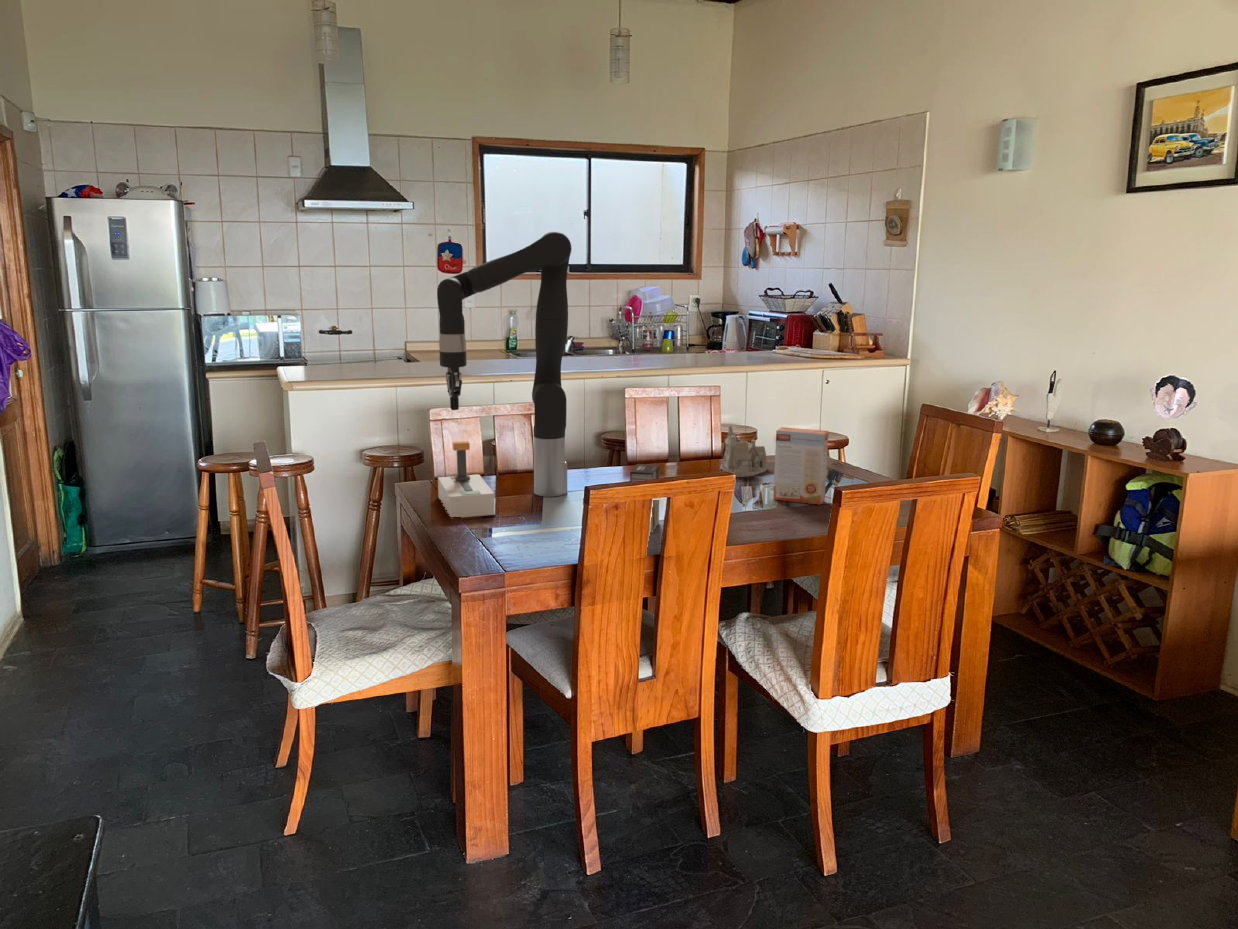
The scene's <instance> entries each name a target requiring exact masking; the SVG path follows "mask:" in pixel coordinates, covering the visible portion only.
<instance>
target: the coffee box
mask: <svg viewBox="0 0 1238 929" xmlns="http://www.w3.org/2000/svg"><path fill="white" fill-rule="evenodd" d="M660 471H661V465H660V464H649V463H648V464H646V463H645V464H644V463H637V464H635V466H634V467H633V468H632V469H631V471H630V472H629V477H630V478H629V483H630V482H637V481H645V480H653V479H659V480H660V473H661V472H660ZM659 520H660V499H659V500H653V507H652V517H651V532H652V531H653V530H654V529H655V530H656V528H657V527H658V525H659V524H660V521H659ZM656 526H657V527H656ZM655 530H654V531H655Z"/></svg>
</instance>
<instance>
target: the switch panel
mask: <svg viewBox="0 0 1238 929" xmlns="http://www.w3.org/2000/svg"><path fill="white" fill-rule="evenodd" d="M468 475H469V476H470V480H465V481H455V479H454V475H451V476H449V475H448V476H438V477H437V486H438V488H437V492H438V499H439V500H441V501H440V502H441V504H442V503H443V504H442V506H443V508H444V507H445V508H444V509H445V511H446V510H447V511H446V513H447V515H448V514H449V515H448V516H450V517H461V518H471V517H480V516H481V517H483V516H484V517H485V516H494V515H496V514H495V513H496V512H495V511H496V510H495V492H494V491H493V490H492V489H491V488H490V486H489V485H488V484H487V482H486V481H485V479H483V477H482V476H481V475H480V474H468ZM450 517H449V518H450Z"/></svg>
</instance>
